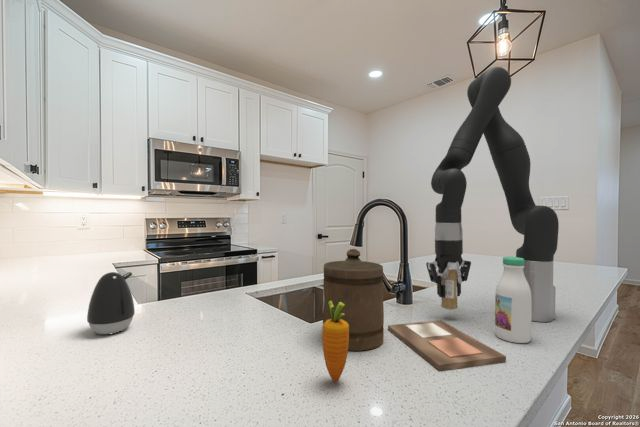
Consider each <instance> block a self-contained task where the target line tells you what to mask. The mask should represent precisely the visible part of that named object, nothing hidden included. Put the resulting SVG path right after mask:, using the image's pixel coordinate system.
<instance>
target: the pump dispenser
mask: <svg viewBox="0 0 640 427" xmlns="http://www.w3.org/2000/svg"><path fill="white" fill-rule="evenodd" d="M132 276H133V273H132V272H131V271H129V272H127V273H125V274H123V275H122V274H121V273H118V272H114V271H113V272H111V271H110V272H107V273H105V274H103V275H102V276H101V277H99V279H98V281H97V283H96V285H95V286H94V289H93V291H92V295H91V297H90V300H89V303H88V309H87V315H86V321H87V324H88V325H89V327H90V329H91V330H92V332H94V333H95V334H97V335H102V334H110V333H115V334H117V333H116V332H118V333H120V332H119V331H121V332H122V331H124V330H126V329H127V328H128V327H129V326H130V325H131V323H132V321H133V318H134V316H135V313H136V312H135V304H134V298H133V294H132V291H131V289H130V286H129V284H128V282H127V280H128V279H129V278H130V277H132ZM110 335H111V334H110Z"/></svg>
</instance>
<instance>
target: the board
mask: <svg viewBox="0 0 640 427" xmlns="http://www.w3.org/2000/svg"><path fill="white" fill-rule="evenodd" d="M387 330H388V331H389V332H390V333H391V334H393V335H394V336H395V337H396V338H398V339H399V340H400V341H401V342H402V343H403V344H405V345H406V346H408V348H410V349H411V350H412V351H414V352H415V353H416V354H417V355H418V356H420V357H421V358H422V359H423V360H425V361H426V362H427V363H428V364H429V365H431V366H433V367H434V368H435V369H436V370H437V371H438V372H442V371H448V370H449V371H450V370H457V369H464V368H471V367H479V366H487V365H491V364H492V365H493V364H500V363H501V364H502V363H506V362H507V356H506V355H505V354H503V353H501V352H499V351H497V350H496V349H494V348H492V347H490V346H489V345H487V344H485V343H483V342H481V341H479V340H478V339H476V338H474V337H472V336H470V335H469V334H466V333H465V332H463V331H461V330H458V329H457V328H456V327H454V326H452V325H450V324H448V323H447V322H445V321H443V320H430V321H419V322H410V323H409V322H408V323H399V324H398V323H396V324H387Z"/></svg>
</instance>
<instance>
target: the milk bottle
mask: <svg viewBox="0 0 640 427" xmlns="http://www.w3.org/2000/svg"><path fill="white" fill-rule="evenodd" d="M524 263H525V261H524V259H523V258H519V257H516V256H504V257H503V258H502V266H503V271H502V274H501V276H500V278H499V279H498V281H497V285H496V288H495V295H494V296H495V301H494V302H495V305H494V306H495V307H494V333H495V335H496V337H498V339H501V340H504V341H507V342H511V343H515V344H528V343H530V342H531V341H532V320H531V316H532V301H531V290H530V287H529V284H528V282H527V280H526V278H525V275H524V272H523V268H524Z"/></svg>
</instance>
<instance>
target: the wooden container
mask: <svg viewBox="0 0 640 427" xmlns="http://www.w3.org/2000/svg"><path fill="white" fill-rule="evenodd" d="M360 256H361V251H359V250H358V249H356V248H350V249H349V250H347V251H346V258H345V260H335V261H329V262H326V263H324V264H323V289H322V290H323V292H322V294H323V295H322V325H323V324H324V323H325V322H326V321H327V320H328V319H332V317H331V313H330V306H329V303H328V302H329V301H332V303H333V305H334V313H335V310H336V308H337V305H338V304H339V302H342V303H343V304H345V305H344V307H343V308H342V309H341V311H340V314H341V313H344V314H345V315H344V316H343V317H342V318H341V319H342V320H344V321H346V322H347V323H348V324H349V345H348V352H349V351H350V352H361V351H369V350H374V349H376V348H379V347H380V346H382V344H383V343H384V332H385V330H384V323H385V322H384V321H385V320H384V318H385V317H384V316H385V314H384V312H385V311H384V267H383V266H384V265H382V264H380V263H377V262H373V261H371V262H370V261H363V260H361V259H360V258H359V257H360ZM340 314H339V315H340Z"/></svg>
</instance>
